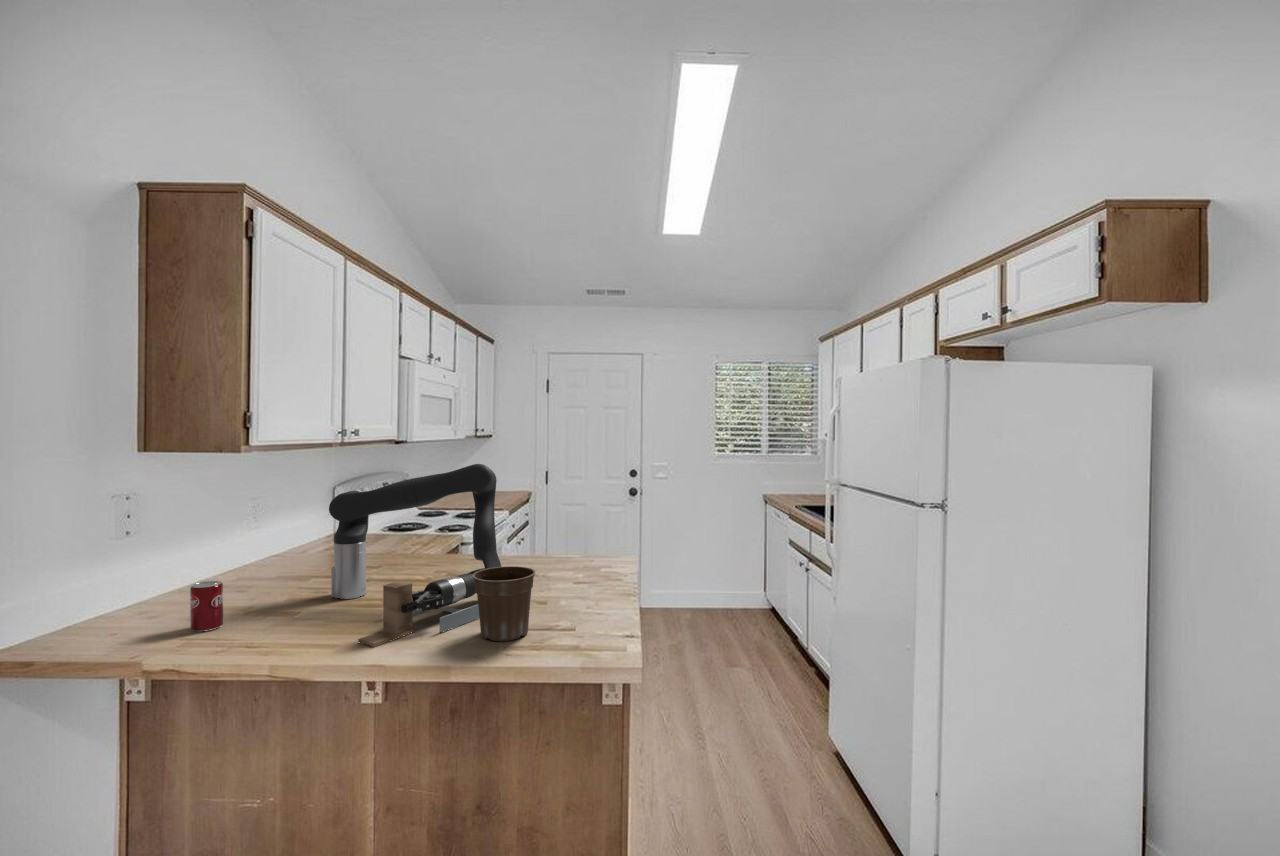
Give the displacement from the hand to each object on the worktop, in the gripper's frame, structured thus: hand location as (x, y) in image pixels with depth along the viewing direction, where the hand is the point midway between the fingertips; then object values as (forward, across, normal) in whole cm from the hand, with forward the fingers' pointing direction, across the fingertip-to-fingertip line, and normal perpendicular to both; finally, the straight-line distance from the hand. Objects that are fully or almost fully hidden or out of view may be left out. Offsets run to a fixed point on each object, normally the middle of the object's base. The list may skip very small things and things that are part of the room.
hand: (395, 607), depth 161 cm
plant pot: (-15, +24, +7) cm, 29 cm away
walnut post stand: (+3, 0, +7) cm, 8 cm away
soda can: (+22, -48, +7) cm, 53 cm away
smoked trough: (-15, 0, +7) cm, 16 cm away
